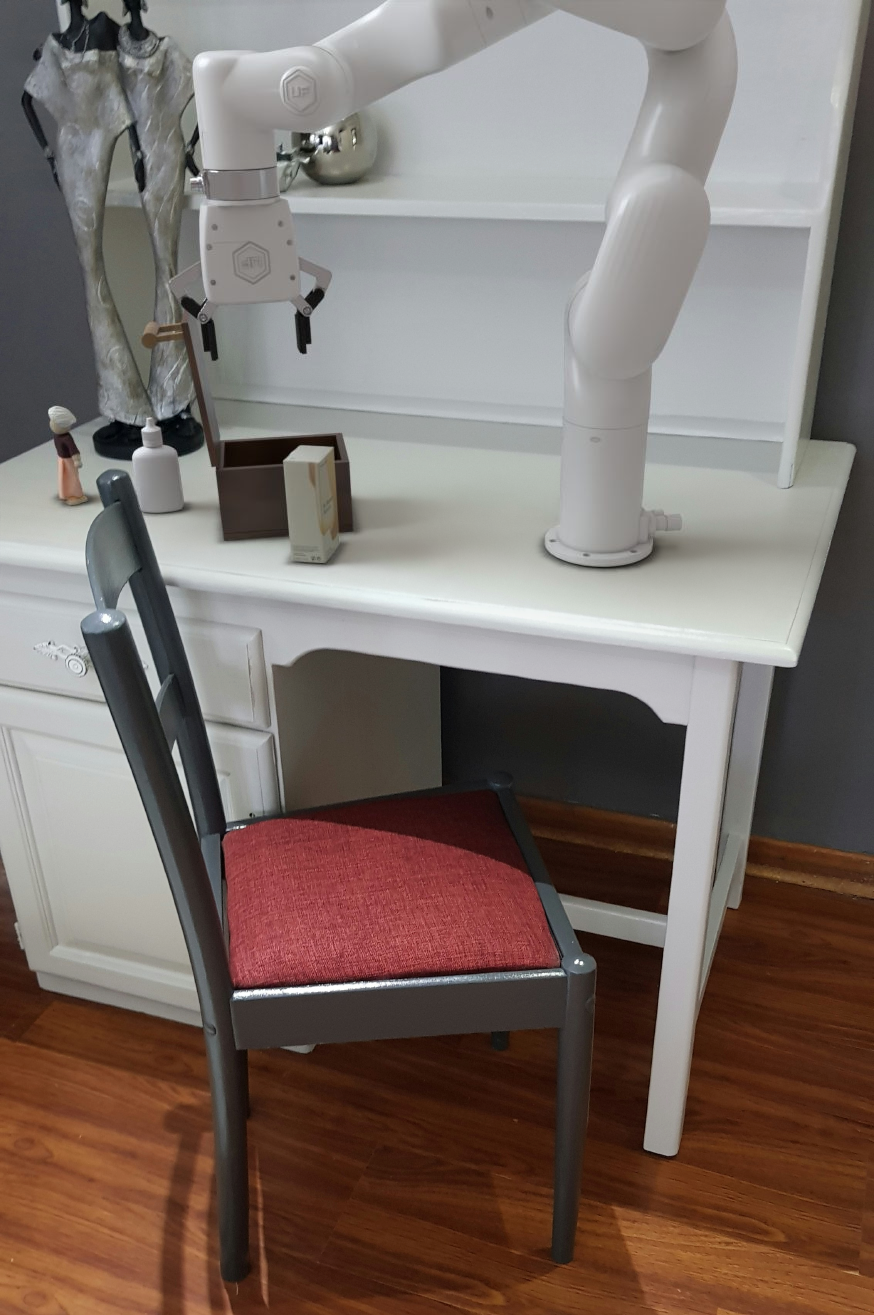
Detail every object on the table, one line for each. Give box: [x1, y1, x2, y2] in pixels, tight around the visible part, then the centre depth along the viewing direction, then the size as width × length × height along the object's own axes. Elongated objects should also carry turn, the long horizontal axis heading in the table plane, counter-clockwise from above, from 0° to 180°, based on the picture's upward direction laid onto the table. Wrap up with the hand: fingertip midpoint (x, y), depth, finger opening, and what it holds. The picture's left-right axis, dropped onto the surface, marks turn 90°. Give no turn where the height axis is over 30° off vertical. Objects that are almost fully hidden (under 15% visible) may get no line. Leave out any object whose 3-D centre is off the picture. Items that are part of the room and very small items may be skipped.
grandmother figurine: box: [47, 405, 89, 506], centre depth 145 cm, size 8×4×13 cm, turn 47°
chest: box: [215, 432, 354, 541], centre depth 139 cm, size 16×12×9 cm
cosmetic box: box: [283, 445, 341, 564], centre depth 128 cm, size 6×4×12 cm
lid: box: [140, 308, 221, 468], centre depth 131 cm, size 17×12×6 cm
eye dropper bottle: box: [131, 417, 185, 514], centre depth 142 cm, size 4×6×12 cm
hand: (258, 354), depth 122 cm, fingers open, 9 cm apart
